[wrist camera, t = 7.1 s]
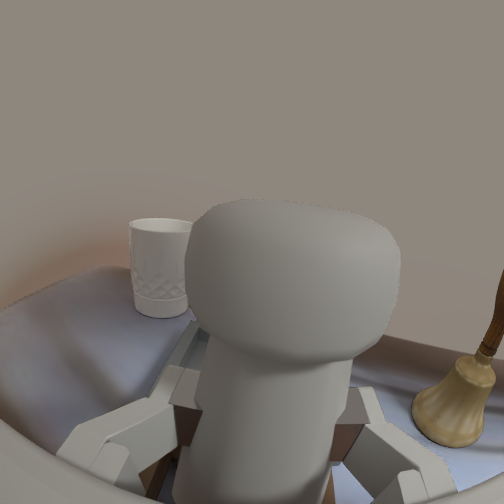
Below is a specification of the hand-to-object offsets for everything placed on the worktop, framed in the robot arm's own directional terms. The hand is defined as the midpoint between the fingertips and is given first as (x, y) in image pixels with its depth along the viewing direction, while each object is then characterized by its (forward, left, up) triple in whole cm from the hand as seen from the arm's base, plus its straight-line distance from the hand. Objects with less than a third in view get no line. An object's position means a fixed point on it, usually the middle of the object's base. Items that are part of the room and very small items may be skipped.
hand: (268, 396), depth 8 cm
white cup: (+12, -23, -10) cm, 28 cm away
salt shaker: (0, +1, -8) cm, 8 cm away
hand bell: (-18, -8, -10) cm, 22 cm away
